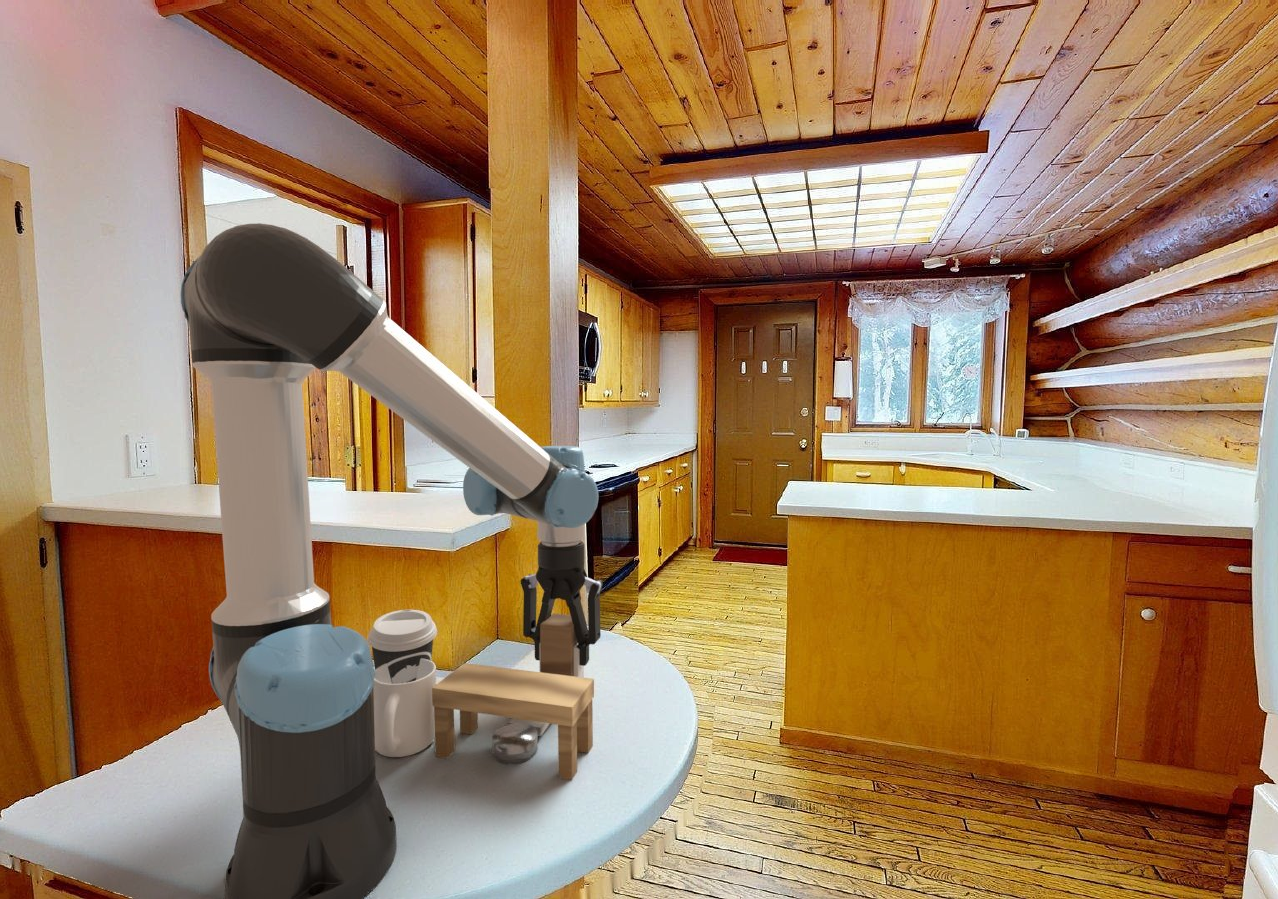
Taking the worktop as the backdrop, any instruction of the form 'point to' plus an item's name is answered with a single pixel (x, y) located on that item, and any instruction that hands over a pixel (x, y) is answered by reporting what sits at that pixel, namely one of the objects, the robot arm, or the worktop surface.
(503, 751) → the token
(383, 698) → the mug
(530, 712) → the riser
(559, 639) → the brown l-shaped block
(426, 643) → the coffee cup
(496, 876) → the worktop surface
